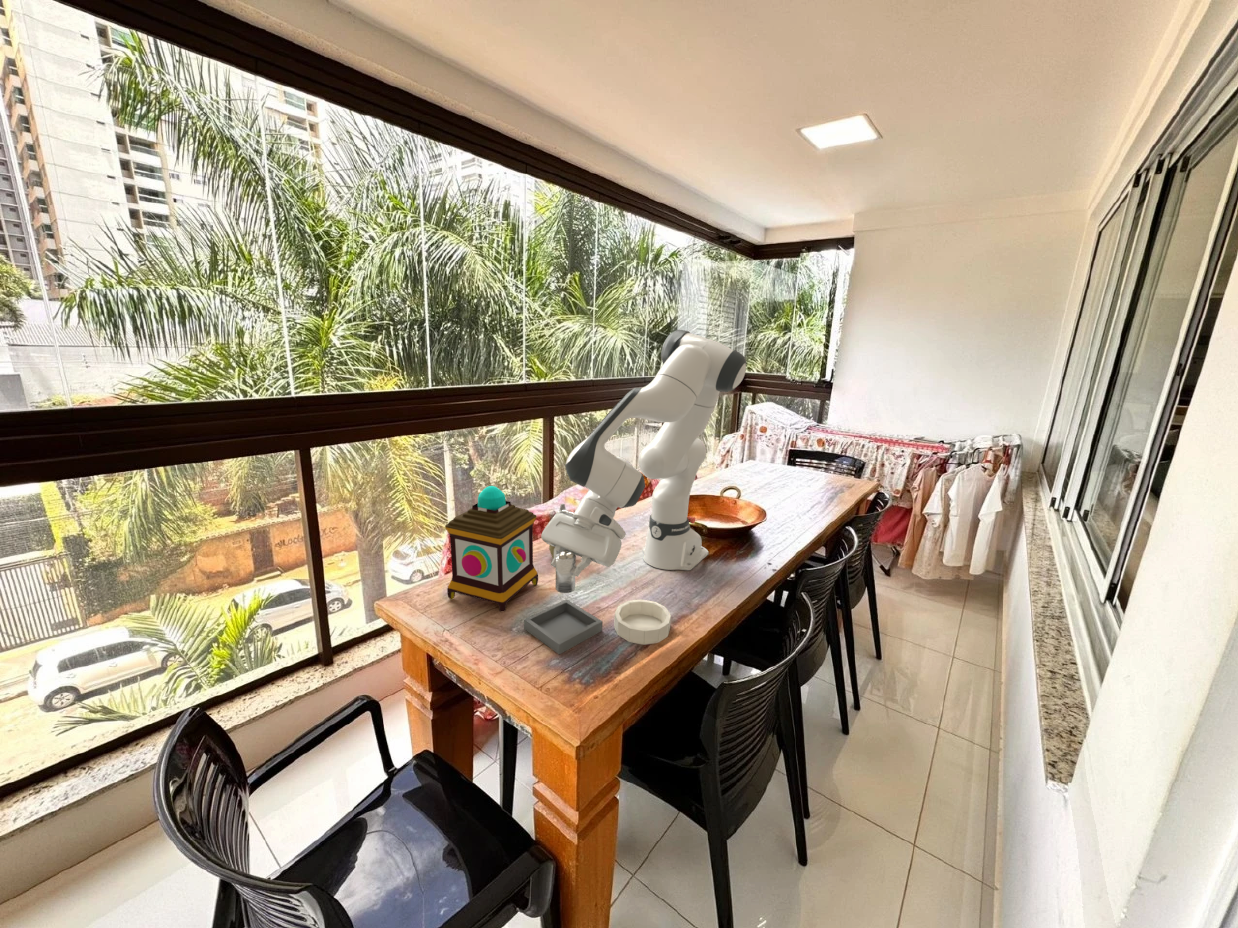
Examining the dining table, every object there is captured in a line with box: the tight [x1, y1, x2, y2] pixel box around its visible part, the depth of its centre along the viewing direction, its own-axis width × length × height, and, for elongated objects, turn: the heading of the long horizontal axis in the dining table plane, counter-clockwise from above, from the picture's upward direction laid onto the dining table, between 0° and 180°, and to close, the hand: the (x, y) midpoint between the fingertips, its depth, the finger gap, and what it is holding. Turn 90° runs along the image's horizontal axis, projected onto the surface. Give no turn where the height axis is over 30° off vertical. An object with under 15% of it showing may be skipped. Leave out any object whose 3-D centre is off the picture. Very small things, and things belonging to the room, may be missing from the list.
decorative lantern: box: [444, 485, 539, 612], centre depth 131 cm, size 20×20×30 cm
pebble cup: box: [555, 552, 577, 594], centre depth 114 cm, size 4×4×9 cm
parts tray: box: [523, 599, 603, 655], centre depth 117 cm, size 13×13×4 cm
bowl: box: [613, 599, 672, 645], centre depth 119 cm, size 13×13×4 cm
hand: (563, 570), depth 113 cm, fingers closed on pebble cup, 4 cm apart
